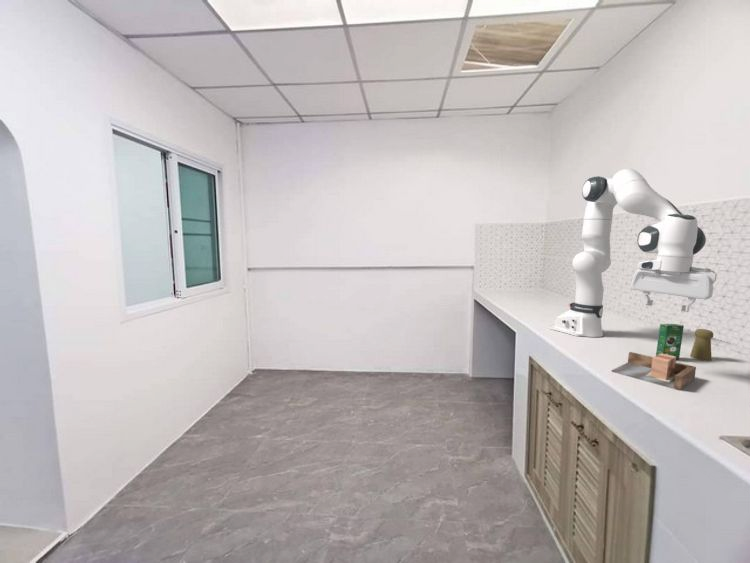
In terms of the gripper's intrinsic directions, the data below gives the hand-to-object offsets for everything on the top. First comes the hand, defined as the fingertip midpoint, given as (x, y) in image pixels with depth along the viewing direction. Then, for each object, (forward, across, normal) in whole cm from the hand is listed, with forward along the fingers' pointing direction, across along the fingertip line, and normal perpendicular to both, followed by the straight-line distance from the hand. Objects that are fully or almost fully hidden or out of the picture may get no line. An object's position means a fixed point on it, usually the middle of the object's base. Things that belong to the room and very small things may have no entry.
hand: (666, 308), depth 114 cm
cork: (+22, -4, -34) cm, 41 cm away
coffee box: (+22, +3, -22) cm, 31 cm away
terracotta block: (+21, -3, +3) cm, 22 cm away
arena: (+22, 0, +4) cm, 22 cm away
